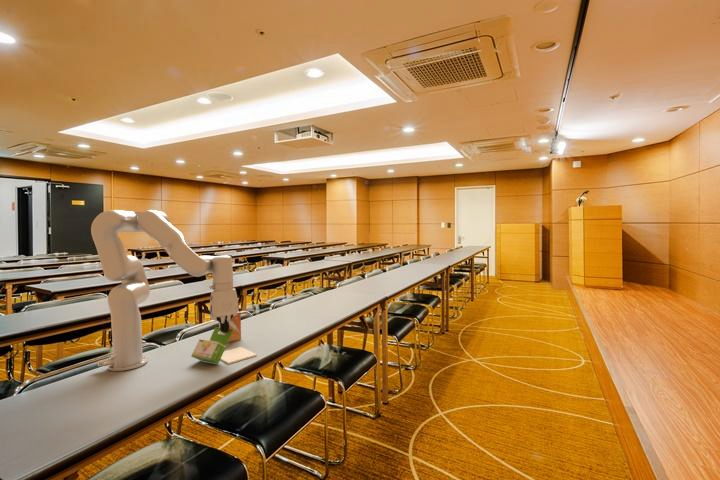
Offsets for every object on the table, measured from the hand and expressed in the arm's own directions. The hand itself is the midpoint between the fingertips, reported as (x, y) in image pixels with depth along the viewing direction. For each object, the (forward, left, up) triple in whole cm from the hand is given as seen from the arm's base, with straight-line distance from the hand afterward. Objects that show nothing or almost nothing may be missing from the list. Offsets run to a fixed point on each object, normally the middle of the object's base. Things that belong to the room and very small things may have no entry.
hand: (224, 332), depth 140 cm
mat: (+4, 0, -11) cm, 11 cm away
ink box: (-8, 0, -9) cm, 13 cm away
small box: (+12, +22, -11) cm, 28 cm away
